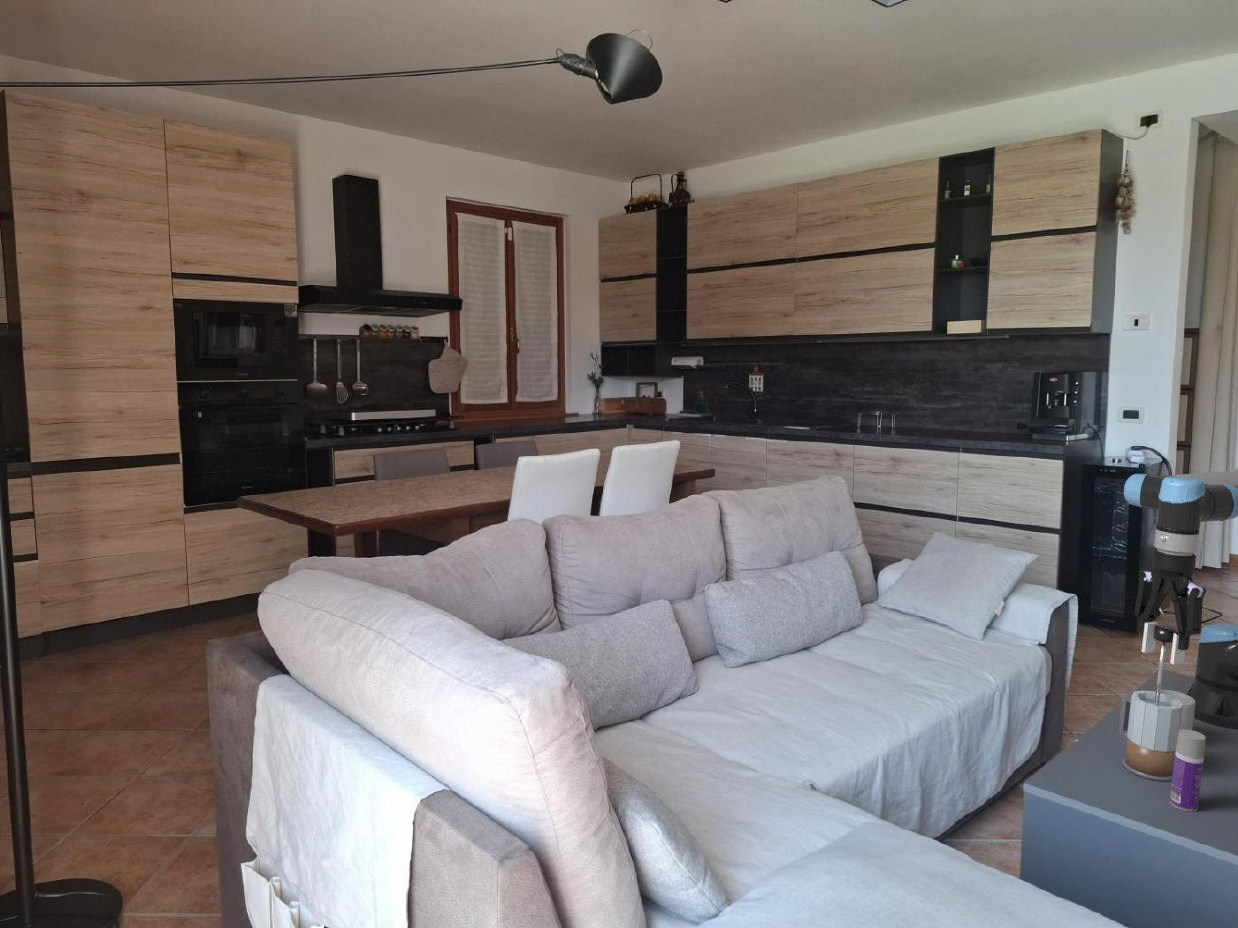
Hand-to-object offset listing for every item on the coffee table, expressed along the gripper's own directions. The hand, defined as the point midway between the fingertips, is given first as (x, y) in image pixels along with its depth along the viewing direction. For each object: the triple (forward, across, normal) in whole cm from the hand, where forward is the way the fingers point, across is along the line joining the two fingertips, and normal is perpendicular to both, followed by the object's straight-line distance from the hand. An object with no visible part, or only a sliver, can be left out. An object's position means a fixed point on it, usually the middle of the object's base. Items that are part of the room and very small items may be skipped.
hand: (1162, 657), depth 177 cm
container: (+26, +13, -6) cm, 29 cm away
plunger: (+11, 0, 0) cm, 11 cm away
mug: (+26, -10, +18) cm, 33 cm away
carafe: (+25, -1, 0) cm, 25 cm away
